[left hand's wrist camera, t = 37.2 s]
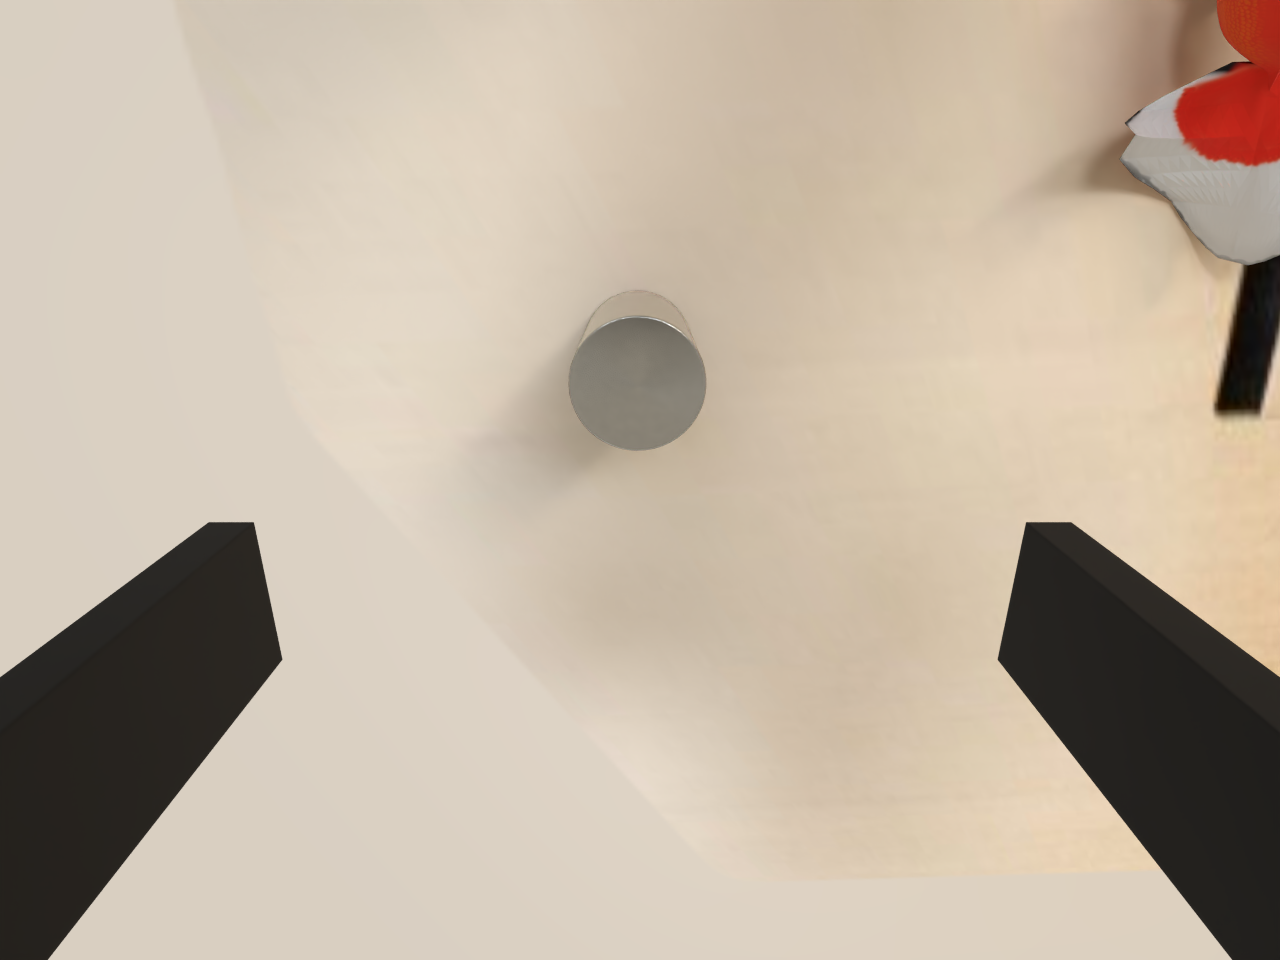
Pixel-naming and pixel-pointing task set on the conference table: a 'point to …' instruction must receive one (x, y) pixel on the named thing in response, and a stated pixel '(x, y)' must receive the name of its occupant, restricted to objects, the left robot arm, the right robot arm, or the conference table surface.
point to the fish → (1222, 141)
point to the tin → (637, 373)
